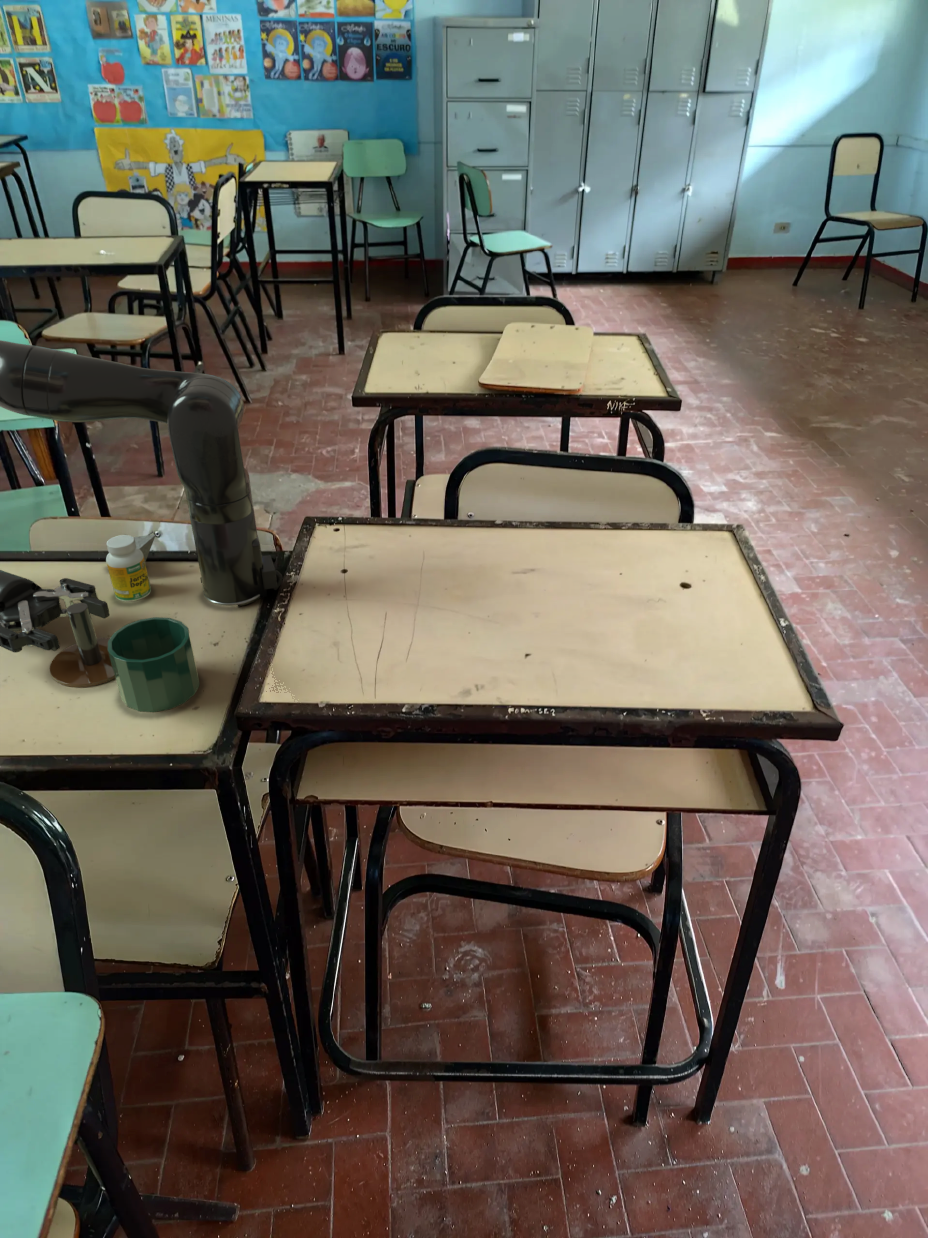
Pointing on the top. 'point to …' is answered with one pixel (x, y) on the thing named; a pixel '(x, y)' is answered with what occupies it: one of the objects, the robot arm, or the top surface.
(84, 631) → the lid
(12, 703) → the top surface
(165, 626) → the canister
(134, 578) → the supplement bottle
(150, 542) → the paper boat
